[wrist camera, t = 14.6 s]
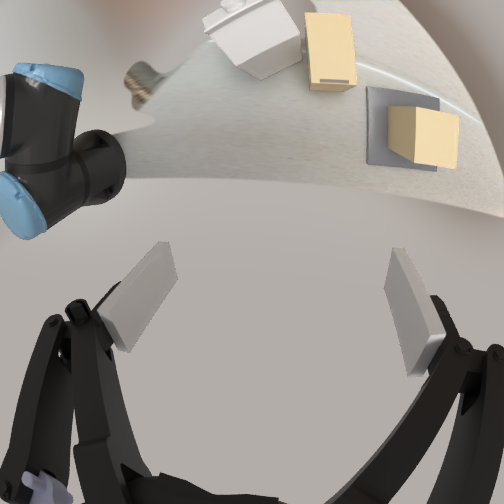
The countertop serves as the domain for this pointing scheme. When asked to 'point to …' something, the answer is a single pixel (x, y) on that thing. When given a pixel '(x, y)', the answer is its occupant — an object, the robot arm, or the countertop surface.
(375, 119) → the plate
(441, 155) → the tan rectangular block
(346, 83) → the cardboard shipping box
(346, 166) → the countertop surface
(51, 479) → the robot arm
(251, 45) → the milk carton
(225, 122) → the countertop surface
